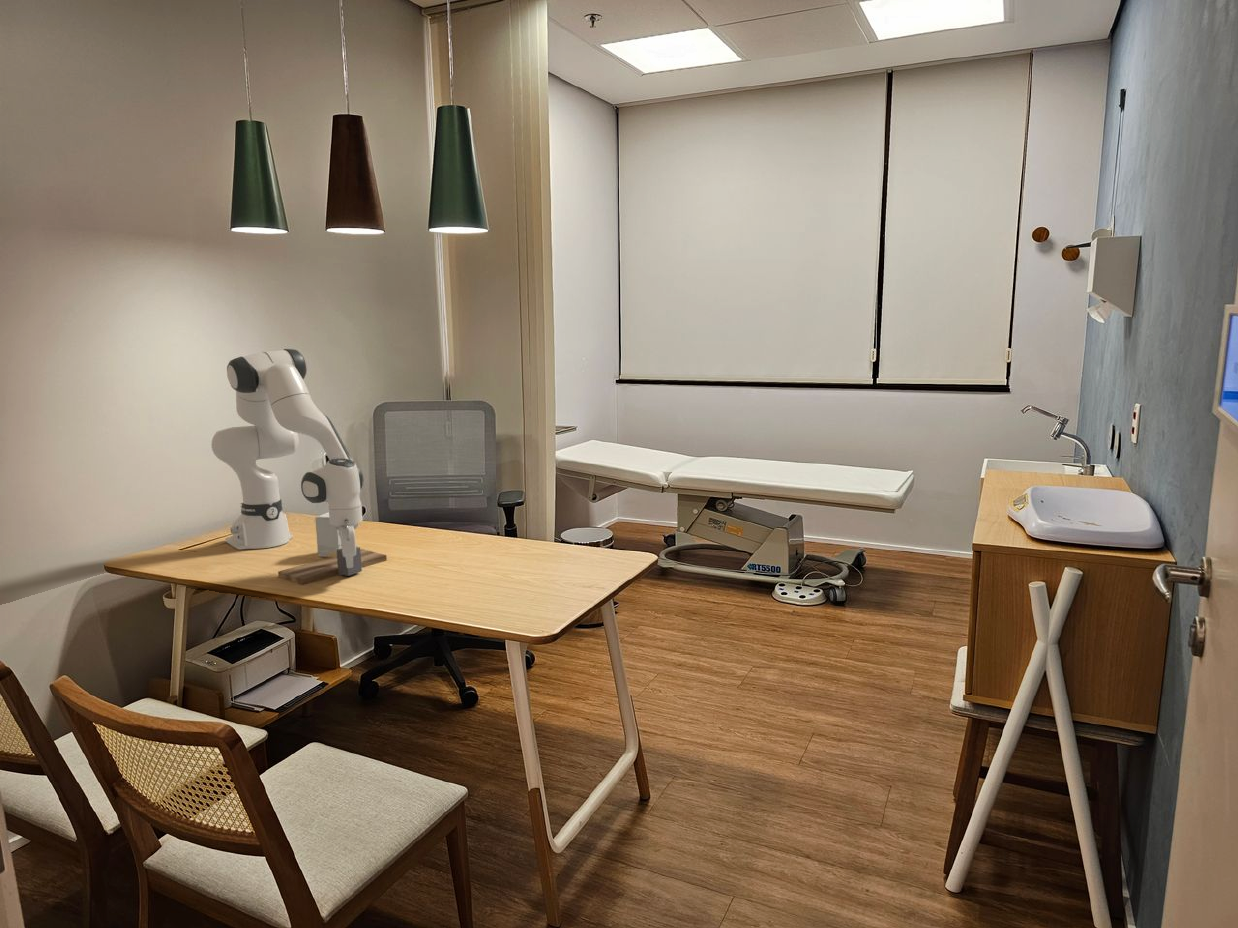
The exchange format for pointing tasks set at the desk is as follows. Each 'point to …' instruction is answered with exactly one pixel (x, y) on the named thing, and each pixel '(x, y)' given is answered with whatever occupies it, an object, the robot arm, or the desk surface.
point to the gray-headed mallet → (342, 562)
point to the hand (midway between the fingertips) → (349, 563)
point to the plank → (325, 568)
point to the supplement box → (326, 536)
